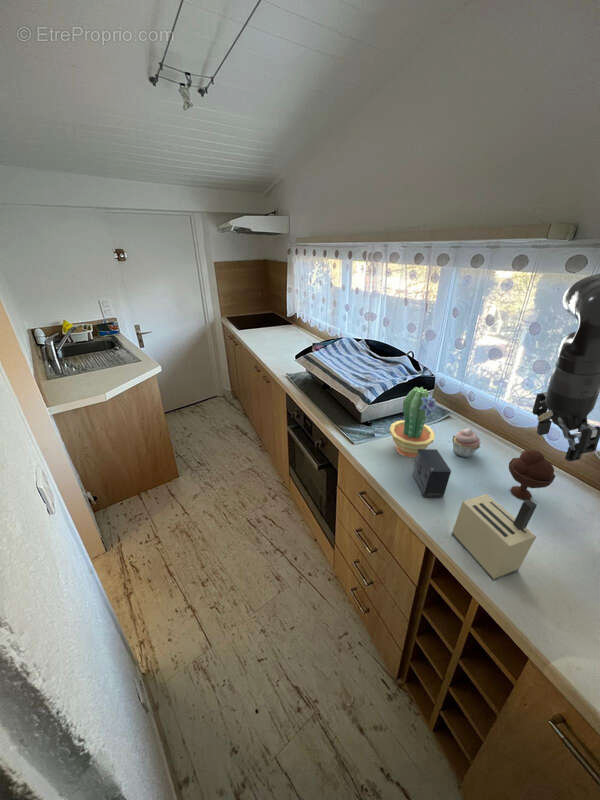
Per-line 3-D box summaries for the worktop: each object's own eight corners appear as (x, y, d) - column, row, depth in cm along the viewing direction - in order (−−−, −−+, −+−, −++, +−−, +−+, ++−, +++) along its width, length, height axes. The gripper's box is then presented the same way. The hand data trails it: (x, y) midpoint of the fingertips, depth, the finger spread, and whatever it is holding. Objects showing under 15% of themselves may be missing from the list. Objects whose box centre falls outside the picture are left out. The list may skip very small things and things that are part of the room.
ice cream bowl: (494, 493, 92) (510, 453, 85) (507, 475, 99) (523, 438, 92) (535, 513, 85) (556, 472, 78) (546, 493, 92) (567, 454, 85)
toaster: (474, 526, 82) (486, 493, 76) (518, 570, 71) (536, 536, 65) (451, 534, 80) (462, 500, 74) (493, 580, 69) (509, 546, 63)
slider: (519, 522, 68) (530, 499, 65) (526, 527, 67) (537, 505, 64) (512, 524, 68) (523, 501, 65) (519, 530, 67) (530, 507, 63)
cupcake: (480, 462, 105) (488, 438, 100) (451, 458, 107) (457, 434, 102) (474, 446, 113) (481, 423, 108) (447, 442, 115) (453, 420, 110)
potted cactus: (389, 461, 106) (399, 398, 94) (384, 435, 120) (393, 377, 108) (435, 465, 104) (452, 400, 92) (425, 438, 118) (439, 379, 106)
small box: (445, 498, 91) (453, 471, 86) (423, 498, 91) (430, 471, 86) (431, 473, 100) (437, 448, 95) (411, 474, 100) (417, 448, 95)
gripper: (629, 401, 53) (601, 465, 61) (565, 364, 64) (550, 422, 73) (583, 411, 53) (562, 473, 62) (528, 372, 65) (517, 429, 74)
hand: (556, 445), depth 68 cm, fingers open, 8 cm apart
